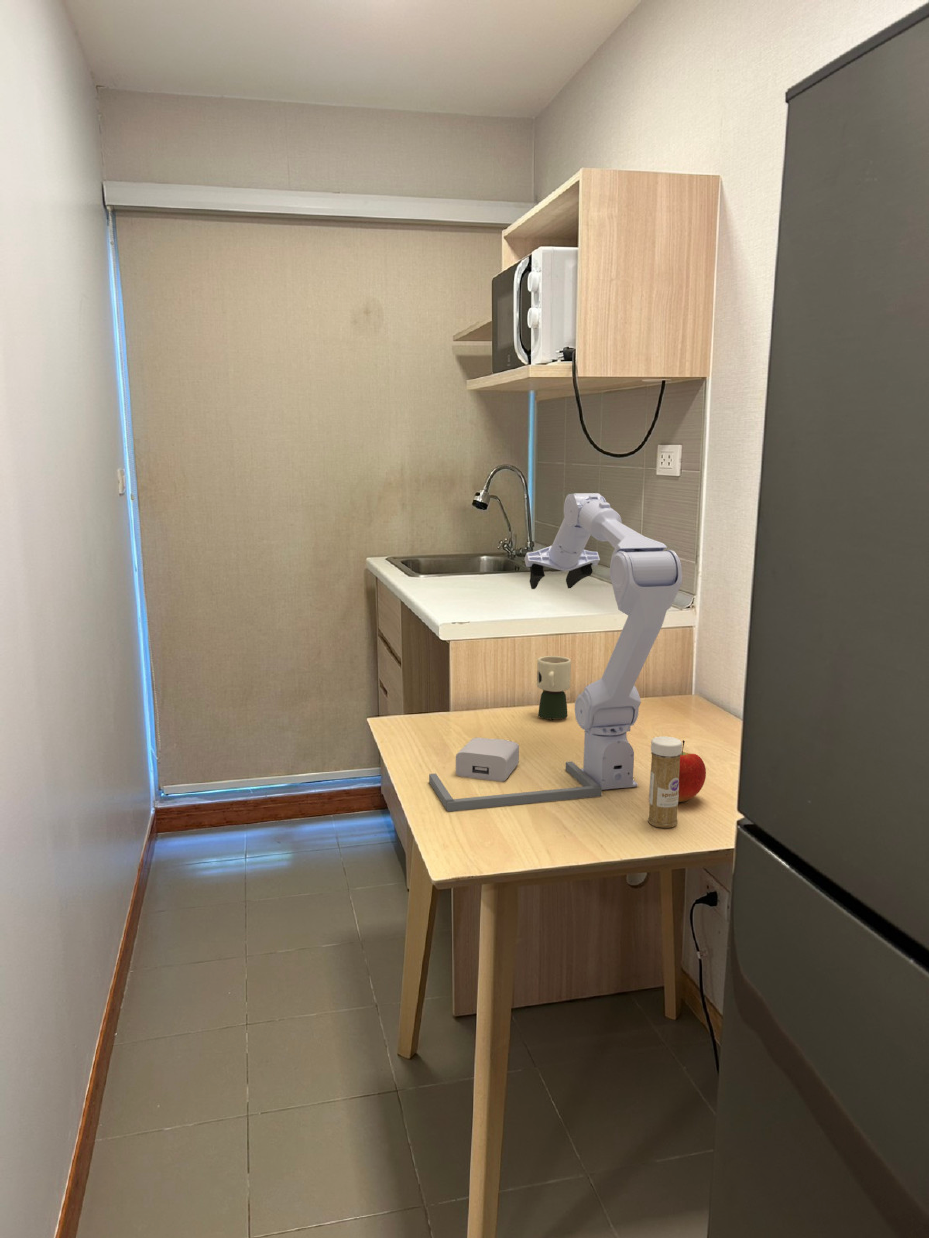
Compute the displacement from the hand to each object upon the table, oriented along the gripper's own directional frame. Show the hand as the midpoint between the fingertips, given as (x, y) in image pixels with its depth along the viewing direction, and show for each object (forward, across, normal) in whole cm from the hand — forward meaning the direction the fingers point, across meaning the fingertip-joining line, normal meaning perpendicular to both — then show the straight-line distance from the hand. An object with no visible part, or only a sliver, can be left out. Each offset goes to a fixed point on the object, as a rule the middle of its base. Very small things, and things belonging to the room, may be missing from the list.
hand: (550, 584), depth 177 cm
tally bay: (+2, +16, +41) cm, 44 cm away
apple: (-7, -9, +50) cm, 51 cm away
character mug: (+27, -5, +16) cm, 32 cm away
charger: (+10, +16, +34) cm, 39 cm away
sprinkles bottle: (-13, -2, +55) cm, 57 cm away
